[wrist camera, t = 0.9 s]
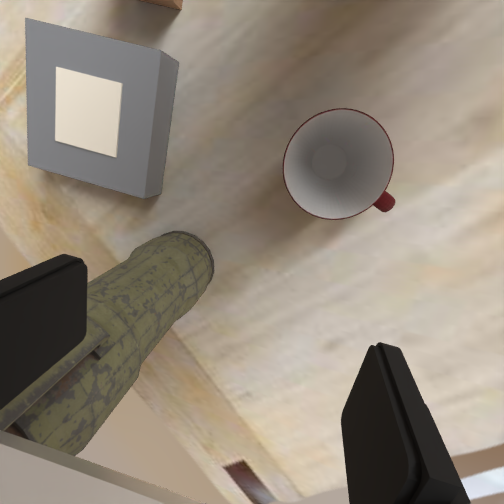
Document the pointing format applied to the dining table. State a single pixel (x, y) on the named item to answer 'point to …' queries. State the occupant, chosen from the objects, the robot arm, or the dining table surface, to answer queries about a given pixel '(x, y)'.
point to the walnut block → (167, 3)
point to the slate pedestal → (98, 108)
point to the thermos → (112, 342)
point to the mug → (339, 165)
